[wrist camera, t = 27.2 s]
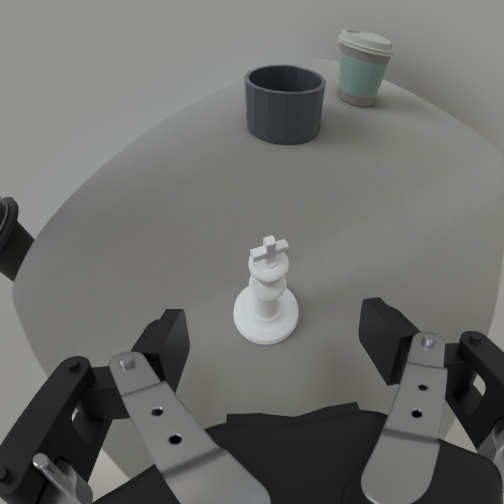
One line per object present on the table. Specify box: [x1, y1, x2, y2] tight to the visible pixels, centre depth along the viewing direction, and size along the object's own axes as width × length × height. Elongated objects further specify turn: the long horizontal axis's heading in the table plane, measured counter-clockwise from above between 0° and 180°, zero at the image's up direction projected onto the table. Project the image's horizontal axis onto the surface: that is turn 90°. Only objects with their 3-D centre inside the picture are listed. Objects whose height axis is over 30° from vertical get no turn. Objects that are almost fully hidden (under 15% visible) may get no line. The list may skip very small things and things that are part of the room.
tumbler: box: [244, 65, 326, 144], centre depth 30 cm, size 9×9×7 cm
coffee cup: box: [338, 29, 393, 107], centre depth 33 cm, size 8×8×12 cm
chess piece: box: [233, 235, 299, 345], centre depth 16 cm, size 5×5×10 cm
